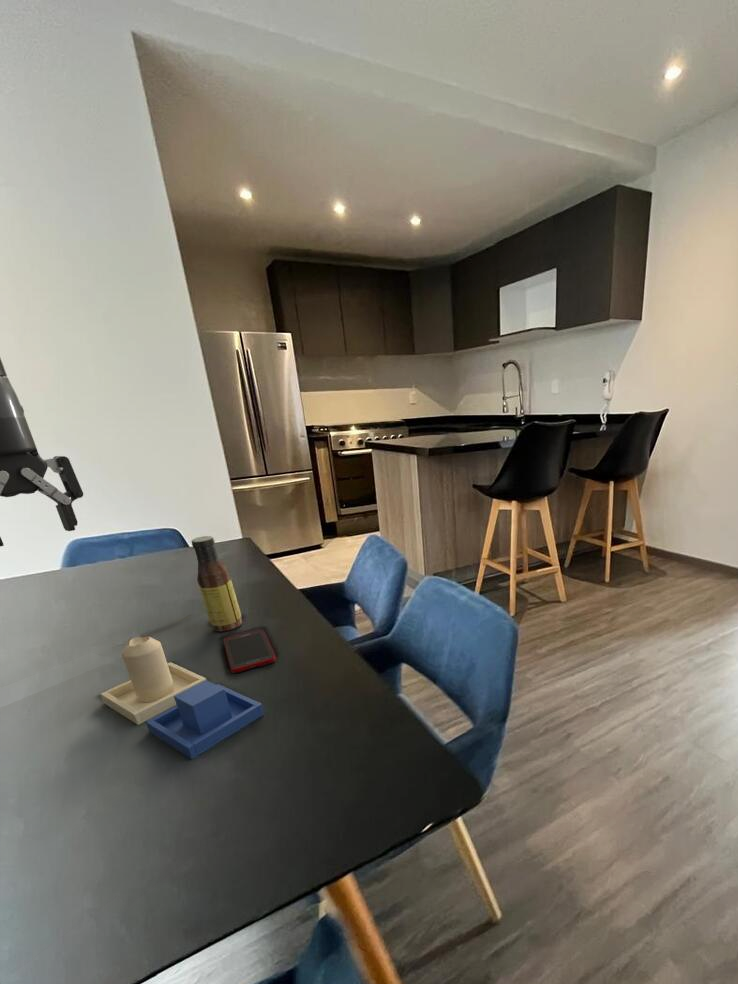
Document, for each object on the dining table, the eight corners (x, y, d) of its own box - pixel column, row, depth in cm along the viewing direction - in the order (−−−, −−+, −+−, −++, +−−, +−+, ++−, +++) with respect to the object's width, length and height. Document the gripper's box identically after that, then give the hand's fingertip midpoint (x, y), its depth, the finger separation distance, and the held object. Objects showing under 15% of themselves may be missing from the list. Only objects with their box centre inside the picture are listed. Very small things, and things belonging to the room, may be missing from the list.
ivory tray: (138, 725, 74) (134, 714, 74) (104, 703, 81) (100, 693, 80) (209, 688, 83) (206, 678, 82) (173, 671, 89) (170, 661, 88)
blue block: (201, 735, 70) (192, 706, 68) (182, 724, 73) (173, 696, 71) (232, 716, 74) (224, 688, 72) (213, 707, 77) (205, 679, 75)
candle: (131, 696, 81) (111, 643, 77) (164, 681, 85) (147, 629, 81) (147, 706, 78) (128, 651, 74) (181, 689, 82) (164, 636, 78)
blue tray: (191, 759, 66) (188, 748, 65) (149, 732, 72) (145, 721, 72) (264, 714, 75) (261, 703, 74) (220, 693, 81) (218, 683, 80)
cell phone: (232, 675, 86) (230, 670, 86) (223, 642, 98) (222, 638, 98) (277, 662, 89) (276, 657, 89) (263, 632, 102) (262, 628, 101)
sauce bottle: (229, 618, 110) (207, 532, 102) (249, 622, 107) (228, 534, 99) (204, 631, 104) (179, 541, 97) (225, 635, 102) (200, 543, 94)
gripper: (41, 413, 71) (81, 523, 77) (-97, 421, 60) (-38, 548, 66) (62, 411, 67) (102, 528, 73) (-82, 419, 56) (-21, 555, 62)
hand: (35, 537), depth 70 cm, fingers open, 8 cm apart
